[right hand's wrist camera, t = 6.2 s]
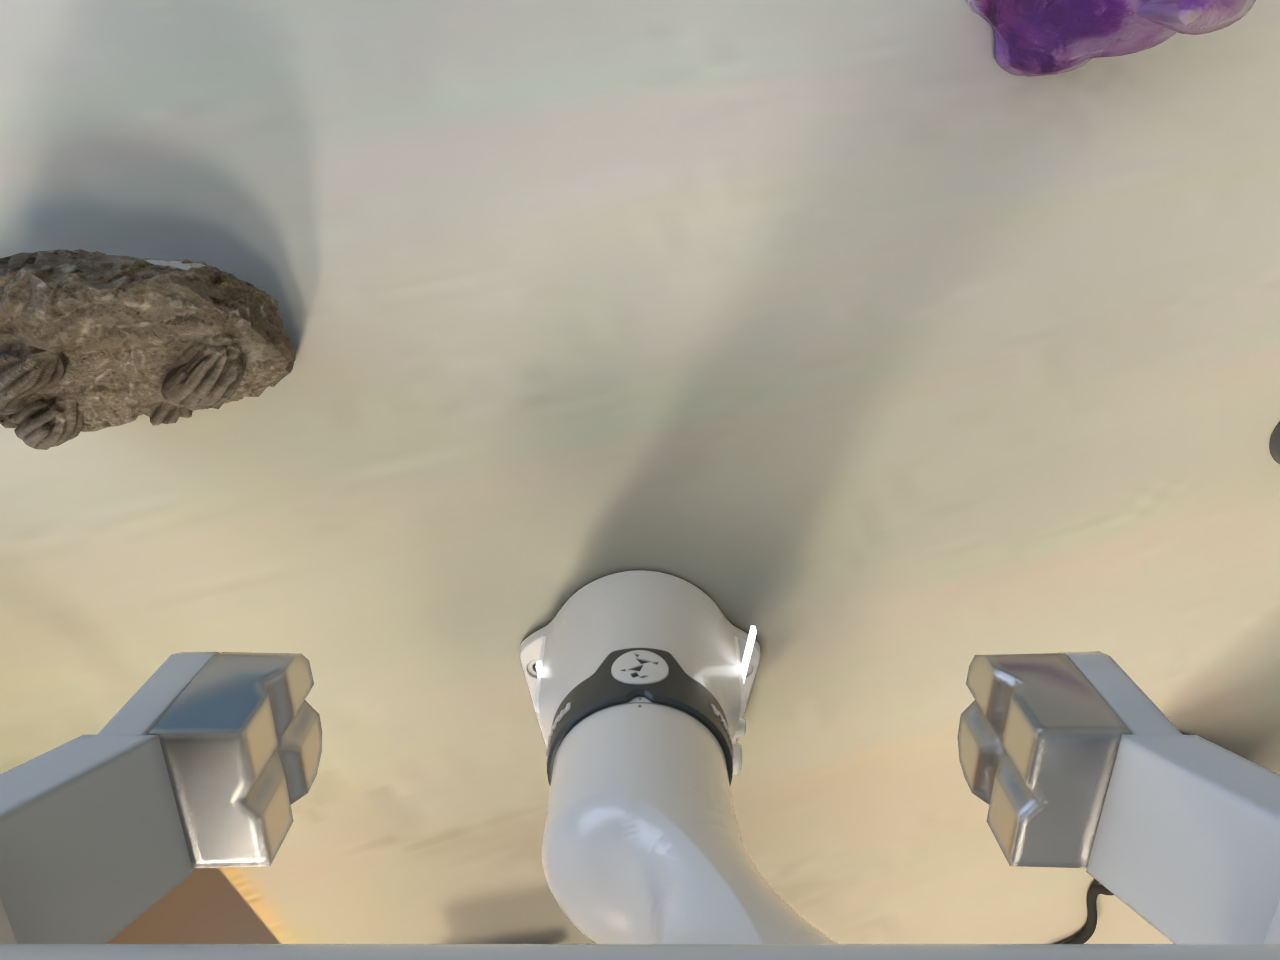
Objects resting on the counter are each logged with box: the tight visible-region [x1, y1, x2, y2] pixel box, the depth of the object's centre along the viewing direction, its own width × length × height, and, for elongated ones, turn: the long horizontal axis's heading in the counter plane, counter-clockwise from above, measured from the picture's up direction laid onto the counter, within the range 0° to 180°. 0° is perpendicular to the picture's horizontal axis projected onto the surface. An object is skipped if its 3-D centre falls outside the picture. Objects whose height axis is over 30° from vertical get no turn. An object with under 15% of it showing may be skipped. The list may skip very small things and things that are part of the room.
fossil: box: [0, 249, 295, 450], centre depth 53 cm, size 22×10×15 cm
